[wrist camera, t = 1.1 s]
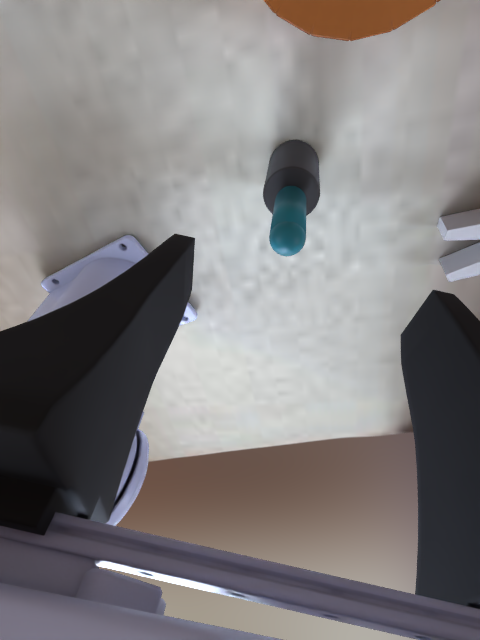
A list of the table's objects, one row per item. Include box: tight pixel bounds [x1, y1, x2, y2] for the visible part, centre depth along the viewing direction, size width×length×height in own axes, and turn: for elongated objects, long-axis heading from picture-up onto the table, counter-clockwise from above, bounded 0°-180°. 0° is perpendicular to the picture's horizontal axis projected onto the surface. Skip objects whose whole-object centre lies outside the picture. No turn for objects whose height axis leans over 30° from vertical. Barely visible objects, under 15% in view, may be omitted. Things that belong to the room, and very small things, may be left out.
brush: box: [263, 140, 320, 256], centre depth 16 cm, size 3×3×8 cm
